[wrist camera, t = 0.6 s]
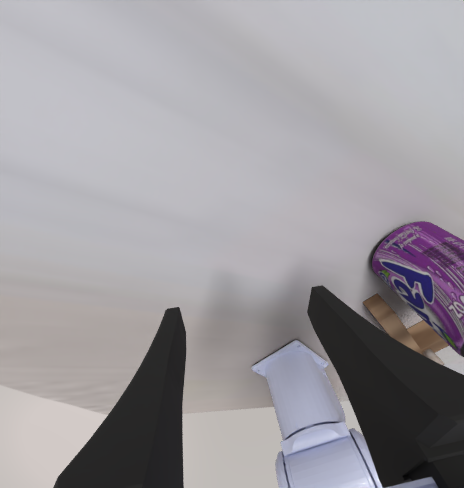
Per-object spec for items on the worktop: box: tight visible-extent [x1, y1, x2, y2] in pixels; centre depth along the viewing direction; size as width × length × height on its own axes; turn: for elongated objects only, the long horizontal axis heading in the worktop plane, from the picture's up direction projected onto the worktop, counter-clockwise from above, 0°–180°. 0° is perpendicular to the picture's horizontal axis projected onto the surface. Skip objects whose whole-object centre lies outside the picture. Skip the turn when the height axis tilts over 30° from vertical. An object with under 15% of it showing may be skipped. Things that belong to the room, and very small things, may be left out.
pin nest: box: [363, 294, 449, 365], centre depth 29 cm, size 14×24×5 cm, turn 131°
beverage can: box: [372, 222, 464, 357], centre depth 20 cm, size 7×7×12 cm
